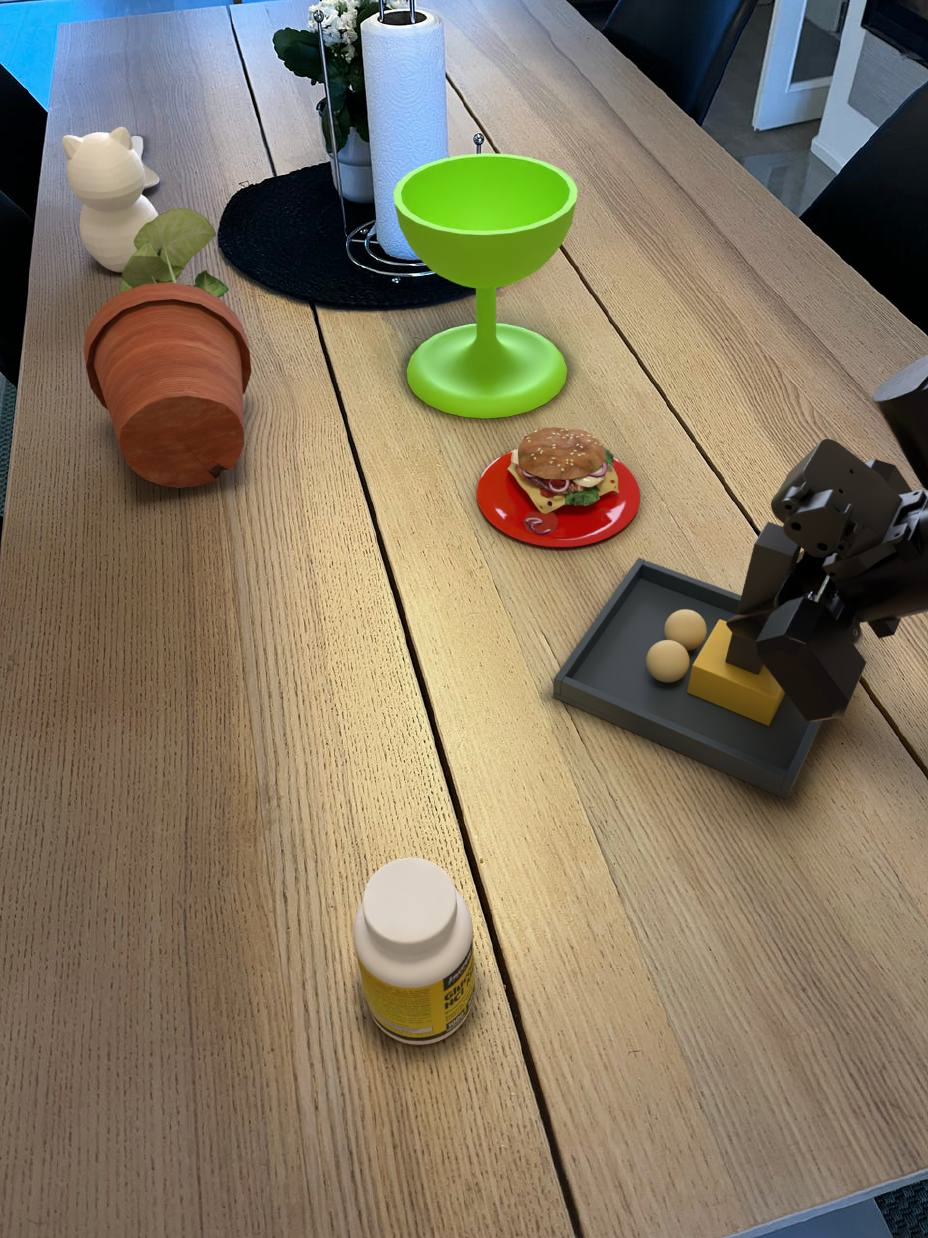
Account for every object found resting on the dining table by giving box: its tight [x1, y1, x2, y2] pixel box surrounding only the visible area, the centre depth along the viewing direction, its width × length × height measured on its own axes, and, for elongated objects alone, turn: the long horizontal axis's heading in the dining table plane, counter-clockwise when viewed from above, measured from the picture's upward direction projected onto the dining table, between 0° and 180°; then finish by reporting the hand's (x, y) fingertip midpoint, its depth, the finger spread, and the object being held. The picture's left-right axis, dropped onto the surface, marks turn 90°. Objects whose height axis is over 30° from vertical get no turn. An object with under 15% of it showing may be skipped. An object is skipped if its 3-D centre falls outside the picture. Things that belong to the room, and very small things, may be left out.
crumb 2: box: [646, 640, 689, 682], centre depth 72 cm, size 3×3×3 cm
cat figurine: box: [61, 126, 159, 273], centre depth 114 cm, size 9×12×15 cm
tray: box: [552, 557, 824, 800], centre depth 73 cm, size 17×14×2 cm
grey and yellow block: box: [687, 521, 802, 726], centre depth 67 cm, size 6×5×14 cm
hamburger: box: [476, 426, 641, 548], centre depth 86 cm, size 14×14×6 cm
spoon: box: [131, 135, 160, 190], centre depth 136 cm, size 4×21×2 cm, turn 17°
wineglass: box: [392, 152, 579, 420], centre depth 95 cm, size 16×16×18 cm
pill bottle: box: [352, 857, 476, 1046], centre depth 54 cm, size 6×6×11 cm
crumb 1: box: [664, 609, 707, 651], centre depth 74 cm, size 3×3×3 cm
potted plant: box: [83, 207, 252, 489], centre depth 95 cm, size 16×15×35 cm
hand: (737, 614), depth 68 cm, fingers closed on grey and yellow block, 2 cm apart
